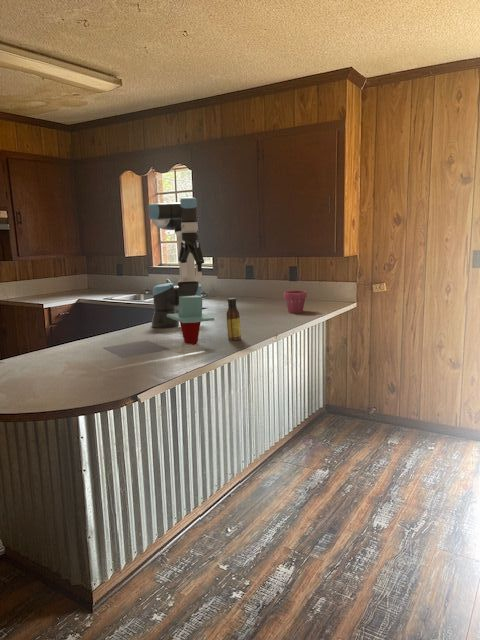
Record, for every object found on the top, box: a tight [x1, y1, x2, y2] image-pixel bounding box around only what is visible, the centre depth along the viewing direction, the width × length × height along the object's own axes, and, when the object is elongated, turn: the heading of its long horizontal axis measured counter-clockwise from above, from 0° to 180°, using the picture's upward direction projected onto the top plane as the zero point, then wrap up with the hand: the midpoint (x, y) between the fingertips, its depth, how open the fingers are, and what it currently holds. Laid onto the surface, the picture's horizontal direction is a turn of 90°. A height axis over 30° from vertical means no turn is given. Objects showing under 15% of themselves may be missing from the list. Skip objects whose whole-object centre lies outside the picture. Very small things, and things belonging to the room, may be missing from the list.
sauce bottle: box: [226, 297, 242, 341], centre depth 232 cm, size 7×6×20 cm
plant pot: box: [283, 290, 307, 314], centre depth 306 cm, size 14×14×13 cm
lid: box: [167, 295, 215, 323], centre depth 224 cm, size 16×16×10 cm
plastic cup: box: [179, 322, 202, 346], centre depth 226 cm, size 11×11×12 cm
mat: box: [103, 339, 171, 359], centre depth 218 cm, size 24×22×1 cm
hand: (191, 277), depth 231 cm, fingers open, 13 cm apart
